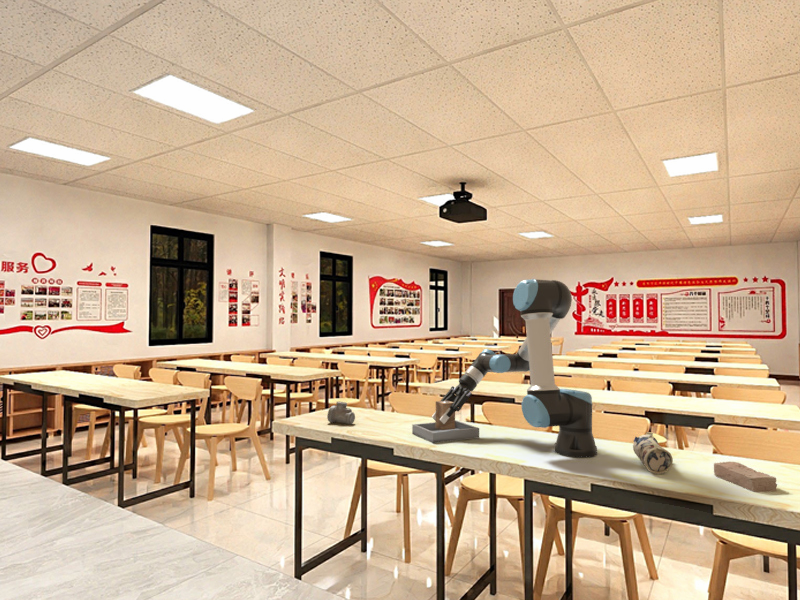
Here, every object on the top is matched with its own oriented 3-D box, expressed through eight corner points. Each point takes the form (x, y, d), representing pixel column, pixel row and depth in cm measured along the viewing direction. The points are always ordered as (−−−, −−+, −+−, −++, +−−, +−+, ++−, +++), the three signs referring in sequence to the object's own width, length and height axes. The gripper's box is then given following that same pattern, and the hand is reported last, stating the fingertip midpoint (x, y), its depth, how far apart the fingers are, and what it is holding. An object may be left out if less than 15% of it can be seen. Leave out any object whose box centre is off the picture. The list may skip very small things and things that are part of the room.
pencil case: (632, 457, 191) (631, 430, 191) (657, 459, 189) (657, 431, 189) (645, 475, 170) (645, 444, 170) (674, 477, 168) (674, 446, 168)
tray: (479, 437, 220) (479, 428, 220) (433, 443, 211) (433, 432, 211) (456, 429, 237) (456, 420, 237) (412, 433, 227) (412, 424, 227)
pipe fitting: (325, 422, 247) (328, 400, 248) (334, 421, 254) (338, 399, 255) (346, 428, 241) (349, 406, 242) (355, 426, 248) (359, 404, 249)
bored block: (455, 429, 223) (455, 402, 223) (442, 430, 220) (442, 403, 220) (447, 426, 228) (447, 400, 228) (435, 427, 225) (435, 401, 226)
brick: (779, 492, 155) (778, 475, 155) (753, 493, 154) (753, 476, 154) (735, 475, 171) (735, 461, 171) (712, 476, 170) (712, 461, 170)
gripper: (488, 388, 223) (455, 430, 215) (463, 382, 240) (432, 421, 232) (478, 375, 220) (443, 418, 213) (453, 371, 237) (421, 410, 230)
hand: (437, 420), depth 222 cm, fingers closed on bored block, 6 cm apart
